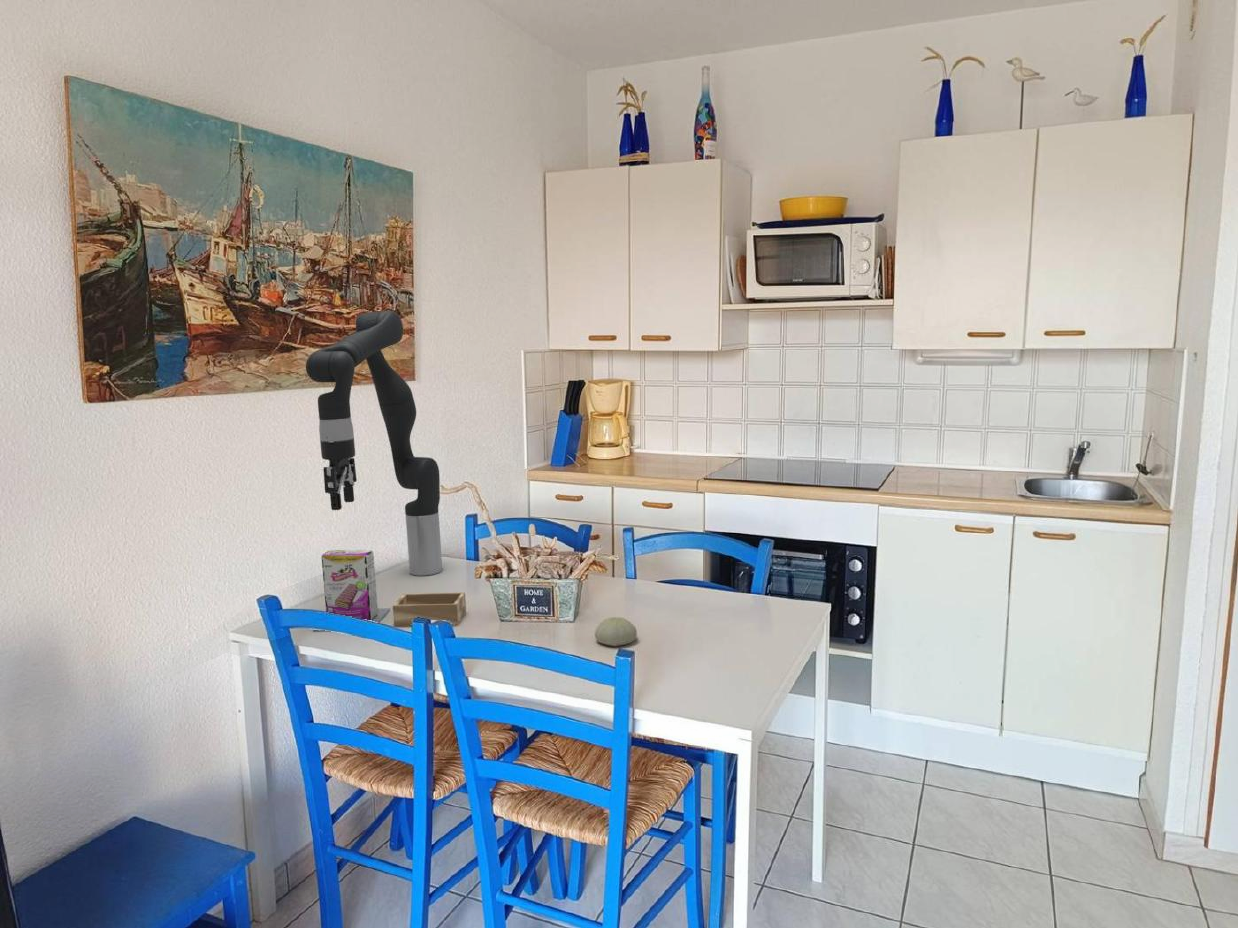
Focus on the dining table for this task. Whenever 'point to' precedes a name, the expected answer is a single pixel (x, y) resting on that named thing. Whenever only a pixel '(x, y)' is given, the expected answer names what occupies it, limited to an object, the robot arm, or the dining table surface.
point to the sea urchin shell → (615, 631)
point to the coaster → (379, 614)
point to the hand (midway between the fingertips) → (343, 505)
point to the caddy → (429, 607)
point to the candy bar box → (350, 583)
